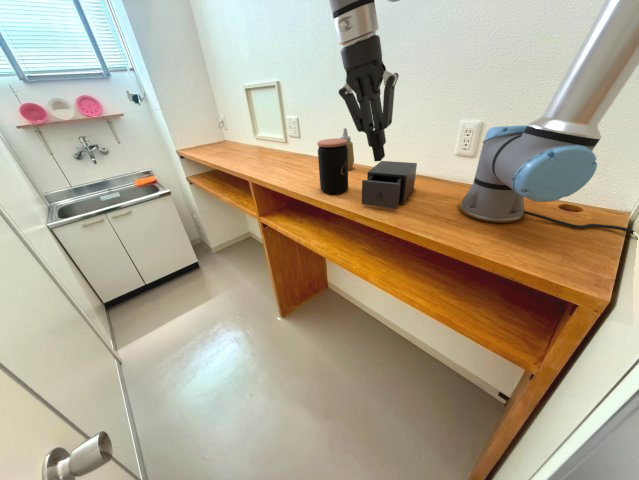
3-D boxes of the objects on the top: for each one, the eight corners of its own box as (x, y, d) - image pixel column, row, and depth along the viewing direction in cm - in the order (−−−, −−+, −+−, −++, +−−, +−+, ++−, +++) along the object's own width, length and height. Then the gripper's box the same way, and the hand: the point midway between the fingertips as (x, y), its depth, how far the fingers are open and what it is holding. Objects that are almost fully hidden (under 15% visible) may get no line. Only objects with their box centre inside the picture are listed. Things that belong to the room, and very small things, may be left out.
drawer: (395, 210, 76) (398, 185, 72) (360, 205, 81) (360, 181, 77) (407, 193, 87) (410, 171, 83) (375, 190, 92) (376, 168, 88)
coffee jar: (346, 195, 92) (345, 143, 82) (318, 195, 94) (314, 144, 84) (349, 185, 100) (349, 137, 91) (323, 185, 103) (320, 138, 93)
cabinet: (403, 204, 82) (406, 175, 77) (366, 199, 87) (367, 172, 82) (413, 189, 92) (417, 163, 87) (380, 185, 98) (381, 160, 93)
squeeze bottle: (357, 167, 122) (357, 127, 113) (349, 172, 116) (349, 130, 107) (342, 166, 126) (341, 126, 117) (334, 170, 120) (332, 129, 111)
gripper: (321, 55, 50) (349, 166, 63) (382, 31, 41) (399, 165, 55) (340, 47, 54) (363, 153, 67) (400, 24, 45) (412, 150, 59)
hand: (379, 158), depth 61 cm, fingers closed
